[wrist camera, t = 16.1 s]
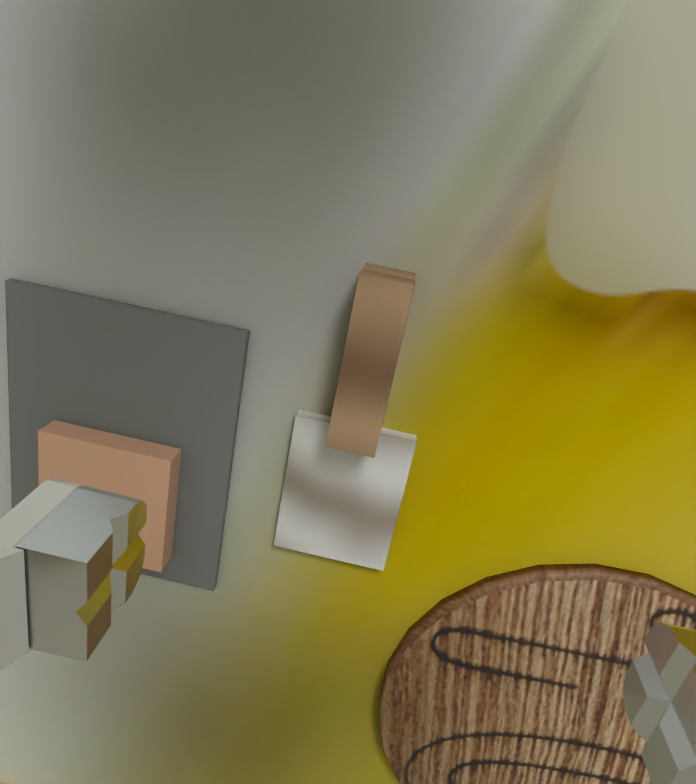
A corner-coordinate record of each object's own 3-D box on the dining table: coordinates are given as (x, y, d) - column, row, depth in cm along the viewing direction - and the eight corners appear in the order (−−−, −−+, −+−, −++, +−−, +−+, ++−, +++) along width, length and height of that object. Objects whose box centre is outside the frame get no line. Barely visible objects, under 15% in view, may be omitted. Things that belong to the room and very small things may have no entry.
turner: (325, 254, 30) (312, 264, 26) (456, 282, 30) (461, 295, 26) (277, 536, 36) (261, 576, 33) (384, 560, 36) (380, 604, 32)
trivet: (388, 542, 36) (386, 561, 34) (812, 578, 33) (835, 600, 32) (374, 811, 45) (373, 837, 43) (710, 855, 42) (723, 885, 40)
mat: (11, 278, 32) (5, 280, 32) (249, 330, 32) (247, 332, 31) (18, 538, 39) (13, 542, 38) (216, 585, 38) (213, 590, 38)
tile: (38, 430, 33) (39, 543, 36) (170, 461, 33) (161, 572, 35) (55, 419, 34) (55, 527, 37) (182, 447, 34) (172, 555, 37)
